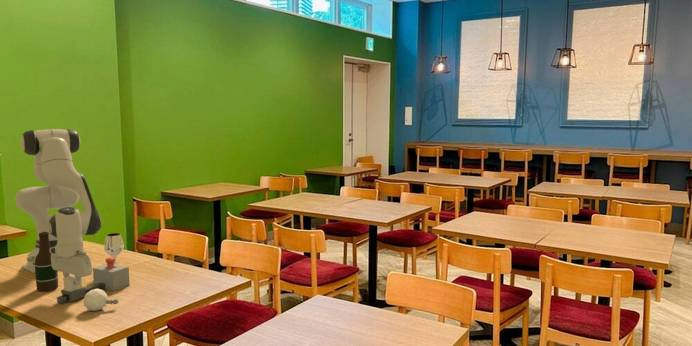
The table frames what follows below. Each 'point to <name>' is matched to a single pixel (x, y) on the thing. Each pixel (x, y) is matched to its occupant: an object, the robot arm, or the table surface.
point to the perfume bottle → (97, 300)
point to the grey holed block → (111, 276)
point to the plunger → (110, 262)
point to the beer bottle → (45, 266)
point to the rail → (100, 286)
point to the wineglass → (113, 244)
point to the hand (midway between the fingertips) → (72, 284)
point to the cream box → (73, 288)
